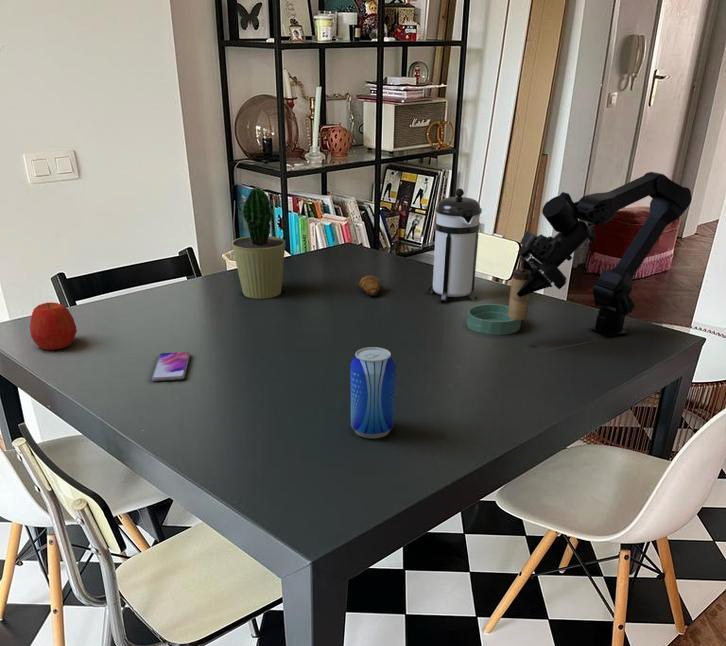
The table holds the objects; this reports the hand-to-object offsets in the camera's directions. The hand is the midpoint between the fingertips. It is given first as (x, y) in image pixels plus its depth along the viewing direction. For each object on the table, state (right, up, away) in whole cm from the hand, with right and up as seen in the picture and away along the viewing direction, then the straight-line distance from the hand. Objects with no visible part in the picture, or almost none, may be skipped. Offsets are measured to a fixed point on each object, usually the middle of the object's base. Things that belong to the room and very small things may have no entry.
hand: (514, 292), depth 176 cm
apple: (-112, -12, +6) cm, 113 cm away
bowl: (-2, -4, +18) cm, 19 cm away
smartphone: (-81, -19, -6) cm, 83 cm away
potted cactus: (-67, +11, +43) cm, 80 cm away
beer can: (-35, -36, -32) cm, 59 cm away
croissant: (-34, +12, +44) cm, 57 cm away
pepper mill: (+1, -5, +3) cm, 6 cm away
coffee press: (-11, +10, +41) cm, 44 cm away
